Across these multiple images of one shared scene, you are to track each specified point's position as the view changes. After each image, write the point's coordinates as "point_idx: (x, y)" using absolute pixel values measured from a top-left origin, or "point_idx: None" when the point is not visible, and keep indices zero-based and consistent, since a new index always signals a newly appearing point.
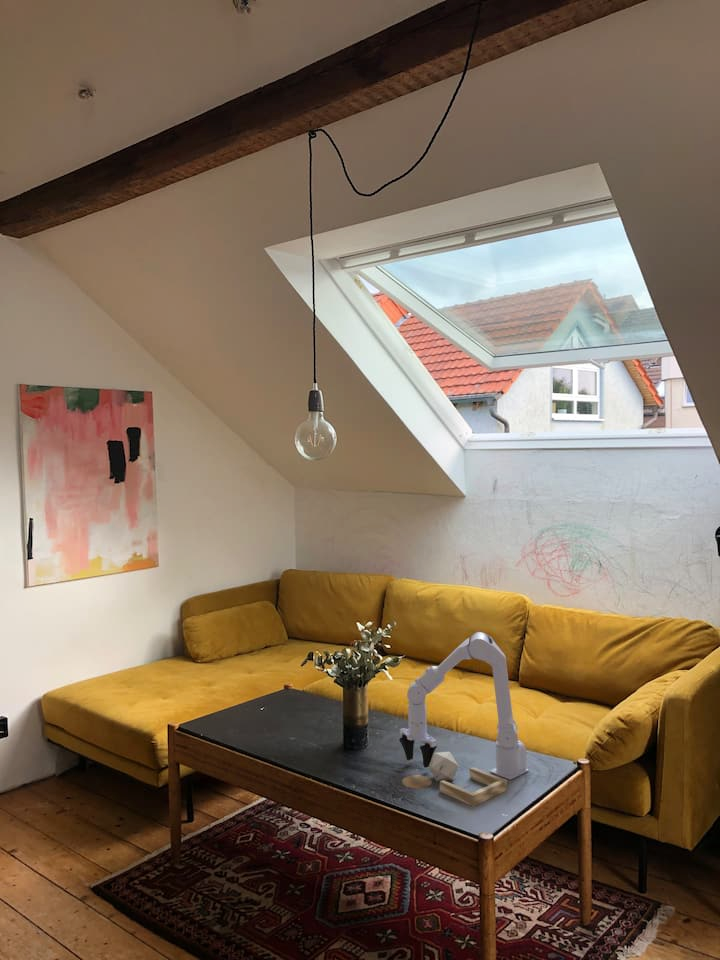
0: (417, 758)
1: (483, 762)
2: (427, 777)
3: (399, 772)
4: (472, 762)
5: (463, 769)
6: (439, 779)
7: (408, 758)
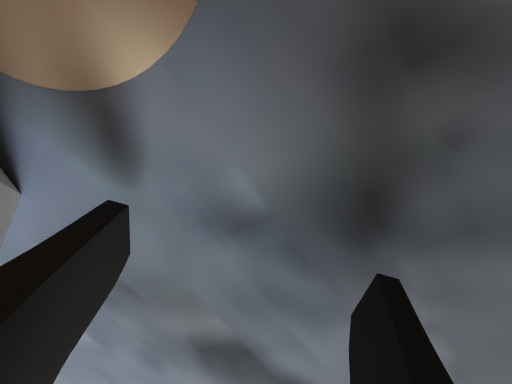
0: None
1: None
2: (24, 75)
3: (394, 24)
4: None
5: None
6: None
7: (376, 295)
